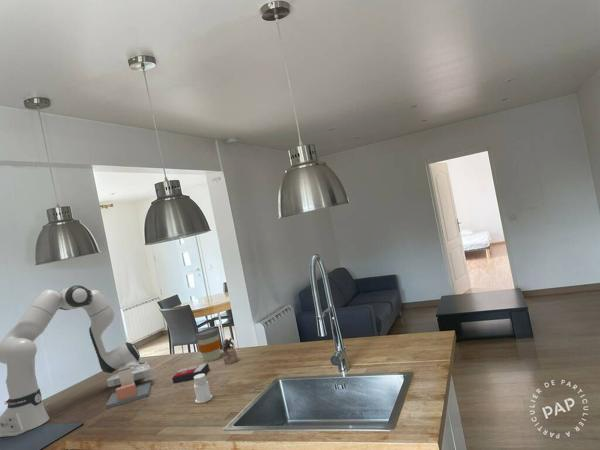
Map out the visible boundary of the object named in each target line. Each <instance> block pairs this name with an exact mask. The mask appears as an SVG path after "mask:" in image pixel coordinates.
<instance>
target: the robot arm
mask: <svg viewBox="0 0 600 450" xmlns="http://www.w3.org/2000/svg"><path fill="white" fill-rule="evenodd" d="M78 308H81V309H83V310H84V311H85V312H86V314H87V316H88V318H89V320H90V327H89V328H88V331H89V337H90V339H91V342H92V346H93V348H94V350H95V353H96V357H97V359H98V364H99V367H100V369H101V370H102V372H103V373H106V374H107V373H108V374H113V373H114V372H116V371H118V369H119V368H122V367H126V366H129V365H131V371H132V375H133V380H134V383H135V382H136V381H138V380H141V379H143V378H147V377H151V376H152V369H151V366H150V364H149V362H148V361H144V362H143V361H142V360H141V358H140V356H141V354H140V352H139V351H140V350H139V349H138V348H137V347H136V345H135V344H134V343H132V342H127V341H126V342H125V343H123V344H121V345H118V346H117V347H115V348H114V349H112V350H111V351H108V352H107V351H106V348H105V345H104V342H103V339H102V335H103V333H104V332H105V331H106V330H107V329H108V327H109V326H110V325H111V324H112V322H113V321H114V318H115V312H114V309H113V307H112V306H111V304H110V302H109V301H108V299H107V298H106V297H105V295H103V293H102V292H101V291H100V290H97V289H92V290H89V288H86V287H85V286H83V285H78V284H77V285H75V284H74V285H72V286H67V287H65V288H64V289H61V290H59V291H56V290H54V289H50V288H49V289H45V290H42V291H41V293H39V295H38V296H36V298H34V300H33V301H32V302H31V304H30V305H29V306H28V308H27V309H26V311H25V312H24V314H23V315H22V317H21V318H20V320H19V321H18V322H17V323H16V324H15V326H14V327H12V329H11V330H10V331H8V332H7V334H6V335H5V336H4V338H2V340H1V341H0V363H2V364H5V365H6V370H7V371H6V372H7V373H6V380H5V384H6V389H7V393H8V400H6V401H4V405H7V408H6V409H5V411H3V413H2V414H1V415H0V438H2V437H15V436H19V435H21V434H23V433H25V432H28V431H30V430H33V429H35V428H38V427H40V426H41V425H43V424H45V423H46V422H47V423H48V421H49V420H50V416H49V415H48V412H47V410H46V408H45V406H44V403H43V401H42V400H43V399H42V393H41V389H40V388H39V385H38V380H37V377H36V376H37V375H36V355H37V351H38V349H37V348H38V347H37V345H36V344H35V342H34V341H35V340H37V338H38V337H39V336H41V335H42V334H43V333H44V332H45V329H47V327H48V325H49V324H50V323H51V320H52V319H53V318H54V316H55V315H56V313H57V311H58V310H64V311H69V310H75V309H78ZM106 385H107V387H108V388H112V387H115V386H119V385H121V383H120V378H119V374H118V373H116V374H114V375H110V376H109V377H108V378H107V379H106Z"/></svg>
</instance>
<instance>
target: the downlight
mask: <svg viewBox="0 0 600 450" xmlns="http://www.w3.org/2000/svg"><path fill="white" fill-rule="evenodd" d="M193 382H194V385H193V389H194V390H193V391H194V393H195V400H194V402H195V403H197V404H202V403H206V402H208V401H210V400H211V399H213V395H212V394H211V389H210V385H209V381H207V377H206V375H205V374H198V375H196V376H194V379H193Z"/></svg>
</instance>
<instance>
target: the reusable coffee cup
mask: <svg viewBox="0 0 600 450" xmlns="http://www.w3.org/2000/svg"><path fill="white" fill-rule="evenodd" d="M195 340H196V341H197V346H198V348H199V352H200V354H201V355H202V358H203V361H204V362H212V361H216V360H218V359H220V358H221V357H222V355H221V348H222V345H221V338H220V332H219V329H218V328H217V327H211V328H206V329H203V330H200V331H198V332H196V333H195Z"/></svg>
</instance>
